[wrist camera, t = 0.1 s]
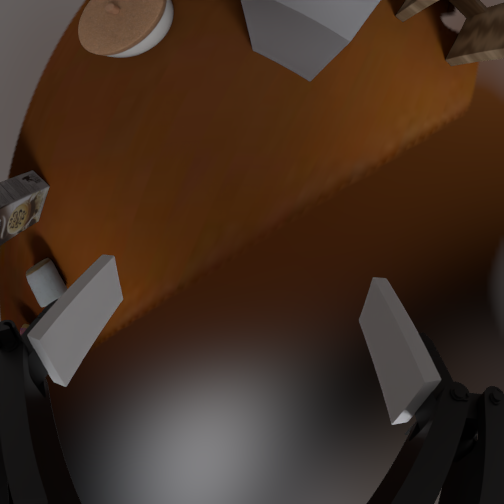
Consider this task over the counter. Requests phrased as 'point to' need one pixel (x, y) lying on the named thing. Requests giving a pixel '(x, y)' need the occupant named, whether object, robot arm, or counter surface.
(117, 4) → the lidded bowl
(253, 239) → the counter surface
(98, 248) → the counter surface
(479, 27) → the wooden stool frame
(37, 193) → the coffee box
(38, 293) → the ceramic mug
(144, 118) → the counter surface
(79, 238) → the counter surface
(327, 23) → the stone block
